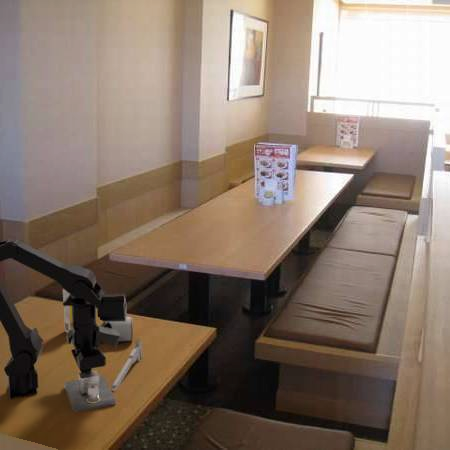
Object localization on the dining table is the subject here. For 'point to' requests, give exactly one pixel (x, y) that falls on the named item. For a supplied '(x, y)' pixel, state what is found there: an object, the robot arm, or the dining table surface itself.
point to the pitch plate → (82, 397)
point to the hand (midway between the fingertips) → (86, 379)
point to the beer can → (67, 313)
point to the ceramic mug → (124, 329)
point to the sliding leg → (88, 380)
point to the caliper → (129, 364)
